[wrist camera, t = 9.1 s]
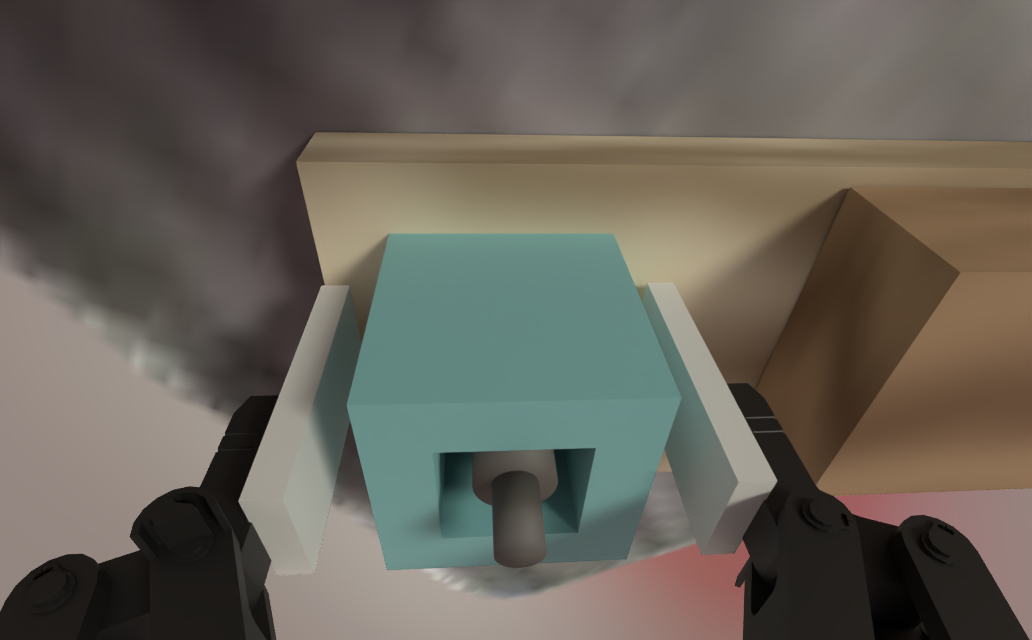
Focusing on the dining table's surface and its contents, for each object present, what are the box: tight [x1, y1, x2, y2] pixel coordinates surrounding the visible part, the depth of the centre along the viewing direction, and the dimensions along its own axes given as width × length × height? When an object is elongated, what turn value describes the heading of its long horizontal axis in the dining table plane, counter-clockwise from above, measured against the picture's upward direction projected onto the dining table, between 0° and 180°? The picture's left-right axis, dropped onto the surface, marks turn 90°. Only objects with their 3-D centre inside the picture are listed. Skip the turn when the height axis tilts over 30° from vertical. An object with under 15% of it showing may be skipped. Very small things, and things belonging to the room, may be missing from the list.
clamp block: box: [756, 187, 1032, 496], centre depth 15 cm, size 8×8×4 cm
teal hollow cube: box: [347, 234, 682, 570], centre depth 14 cm, size 6×6×6 cm
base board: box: [296, 132, 1032, 568], centre depth 15 cm, size 13×22×10 cm, turn 89°
